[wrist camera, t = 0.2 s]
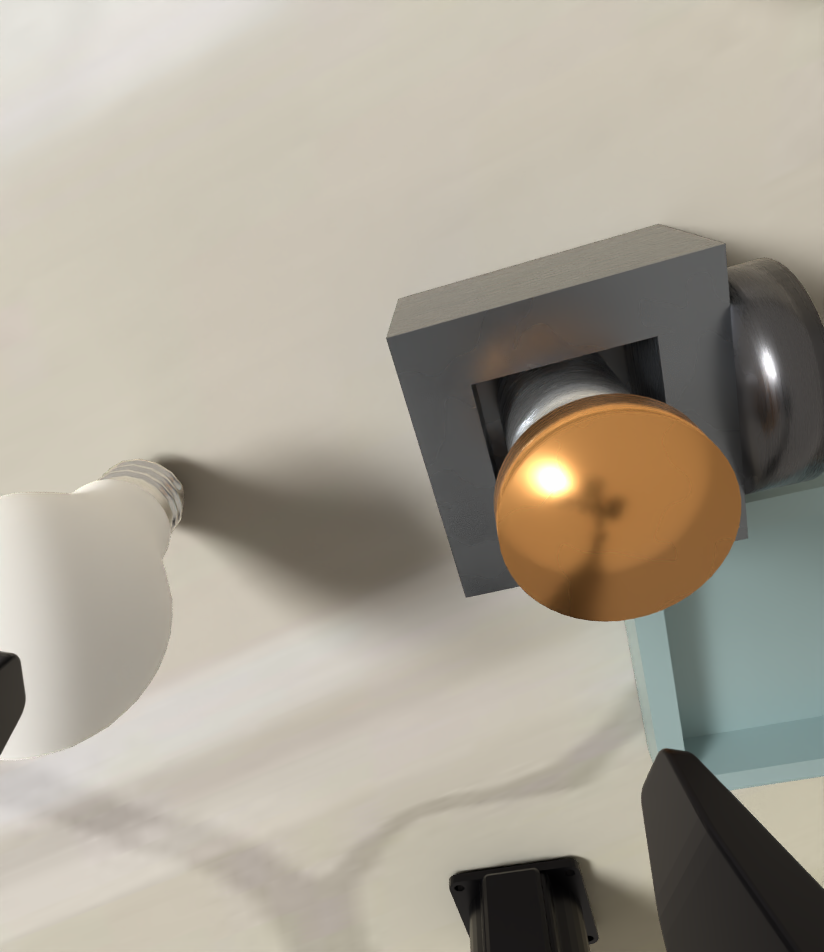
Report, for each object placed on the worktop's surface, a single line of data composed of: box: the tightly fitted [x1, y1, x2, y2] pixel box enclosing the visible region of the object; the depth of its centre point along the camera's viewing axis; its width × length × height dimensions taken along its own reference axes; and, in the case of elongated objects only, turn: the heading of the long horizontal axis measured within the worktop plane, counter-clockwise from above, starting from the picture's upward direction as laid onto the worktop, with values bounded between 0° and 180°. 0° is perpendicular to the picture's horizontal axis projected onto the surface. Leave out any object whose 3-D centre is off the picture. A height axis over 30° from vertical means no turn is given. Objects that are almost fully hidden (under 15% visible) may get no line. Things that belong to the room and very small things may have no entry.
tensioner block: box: [386, 224, 824, 597], centre depth 18 cm, size 8×10×6 cm
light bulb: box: [0, 459, 184, 760], centre depth 19 cm, size 7×7×11 cm
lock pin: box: [494, 352, 741, 621], centre depth 17 cm, size 5×5×8 cm
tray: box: [625, 472, 824, 790], centre depth 24 cm, size 13×13×2 cm
